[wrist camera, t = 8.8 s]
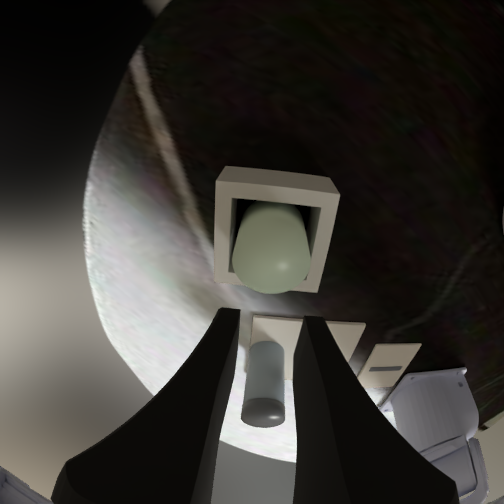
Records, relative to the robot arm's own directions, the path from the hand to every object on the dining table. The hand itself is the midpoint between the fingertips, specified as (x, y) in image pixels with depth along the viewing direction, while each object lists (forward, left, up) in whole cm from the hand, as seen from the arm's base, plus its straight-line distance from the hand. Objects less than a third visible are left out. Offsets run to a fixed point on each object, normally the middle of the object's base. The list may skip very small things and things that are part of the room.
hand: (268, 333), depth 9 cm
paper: (-4, +12, -9) cm, 16 cm away
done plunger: (0, 0, -8) cm, 8 cm away
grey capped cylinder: (-1, +12, -9) cm, 15 cm away
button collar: (0, 0, -9) cm, 9 cm away
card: (-13, +14, -9) cm, 21 cm away
